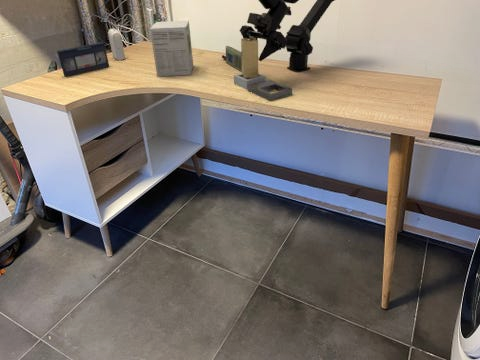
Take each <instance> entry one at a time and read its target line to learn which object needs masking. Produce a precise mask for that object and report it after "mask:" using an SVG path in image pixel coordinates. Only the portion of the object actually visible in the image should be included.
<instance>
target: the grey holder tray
mask: <svg viewBox="0 0 480 360" xmlns="http://www.w3.org/2000/svg"><path fill="white" fill-rule="evenodd" d="M271 91H275V92H271ZM247 92H249V93H251V92H252V93H251V94H253V93H254V94H253V95H255V94H256V95H255V96H258V97H260V98H261V99H265V100H266V99H267V100H266V101H268V102H271V101H275V100H278V99H282V98H285V97H289V96H292V95H293V88H292V87H289V86H287V85H284V84H282V83H279V82H276V81H273V80H272V79H267V80H266V81H263V82H259V83H255V84H251V85H248V89H247Z"/></svg>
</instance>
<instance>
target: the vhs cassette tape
mask: <svg viewBox="0 0 480 360" xmlns="http://www.w3.org/2000/svg"><path fill="white" fill-rule="evenodd" d="M56 53H57V56H58V60H59V63H60V66H61V69H62V74H63V75H64V77H66V78H69V77H73V76H79V75H82V74H86V73H87V74H88V73H92V72H95V71H99V70H104V69H107V68H110V63H109V58H108V54H107V50H106V46H105V43H104V42H103V41H102V42H96V43H91V44H85V45H79V46H76V47H70V48H64V49H61V50H56Z"/></svg>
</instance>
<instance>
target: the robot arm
mask: <svg viewBox="0 0 480 360" xmlns="http://www.w3.org/2000/svg"><path fill="white" fill-rule="evenodd" d="M299 1H300V0H258V2H259V3H260V4H261V6H262V7H263V9H265V10H267V11H266V12H262V13H261V14H259V13H255V12H254V13H253V12H249V14H248V18H247V21H246V23H247V24H250V25H253V26H250V25H246V24H245V25H241V28H240V29H239V33H240V35H241V36H242V39H243V38H256V39H257V40H259V39H261V40H265V46H264V48H263V50H262V51H261V53H260V55H259V56H258V62H259V61H260V62H262V61H264V60H265V59H266V58H268V57H270V56H271V55H272V54H274V53H276V52H278V51H281V50H282V49H285V48H286V49H285V50H286V52H288V53H290V54H289V56H290V57H289V63H288V64H289V65H288V66H287V68H286V69H288V70H291V71H294V72H297V73H300V72H304V71H306V70H310V69H311V67H310V66H308V60H309V59H308V58H309V55H311V54H313V50H314V46H313V45H312V44H311V43H310V41H311V36H312V35H311V33H312V31H313V30H314V28H315V27H316V26H317V24H318V22H319V21H320V20H321V18H322V17H323V15H325V12H326V11H327V10H328V9H329V7H330V6H331V4H332V3H333V2H334V1H336V0H316V1H315V2H314V4H313V5H312V6H311V8H310V10H309V11H308V12H307V13H306V15H305V17H304V18H303V19H302V21H301V22H300V24H298V25H297V24H292V25H291V26H290V28H289V30H288V31H286V35H284V34H283V33H282V32H281V31H279V30H281V28H282V26H281V23H282V22H283V20H284V18H285V16H292V9H291V8H292V7H291V6H288V5H287V4H296V3H297V2H299ZM277 30H278V31H277Z"/></svg>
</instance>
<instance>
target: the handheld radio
mask: <svg viewBox="0 0 480 360" xmlns="http://www.w3.org/2000/svg"><path fill="white" fill-rule="evenodd" d="M221 58H222V59H224V60H225V63H226V64H228V65H229V64H230V65H229V66H231V67H233V68H234V67H235V68H234V69H236V70H237V71H239V70H240V71H239V72H241V73H242V56H241V51H240V50H238V49H236V48H234V47H233V46H230V45H225V55H224V54H223V55H221Z"/></svg>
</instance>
